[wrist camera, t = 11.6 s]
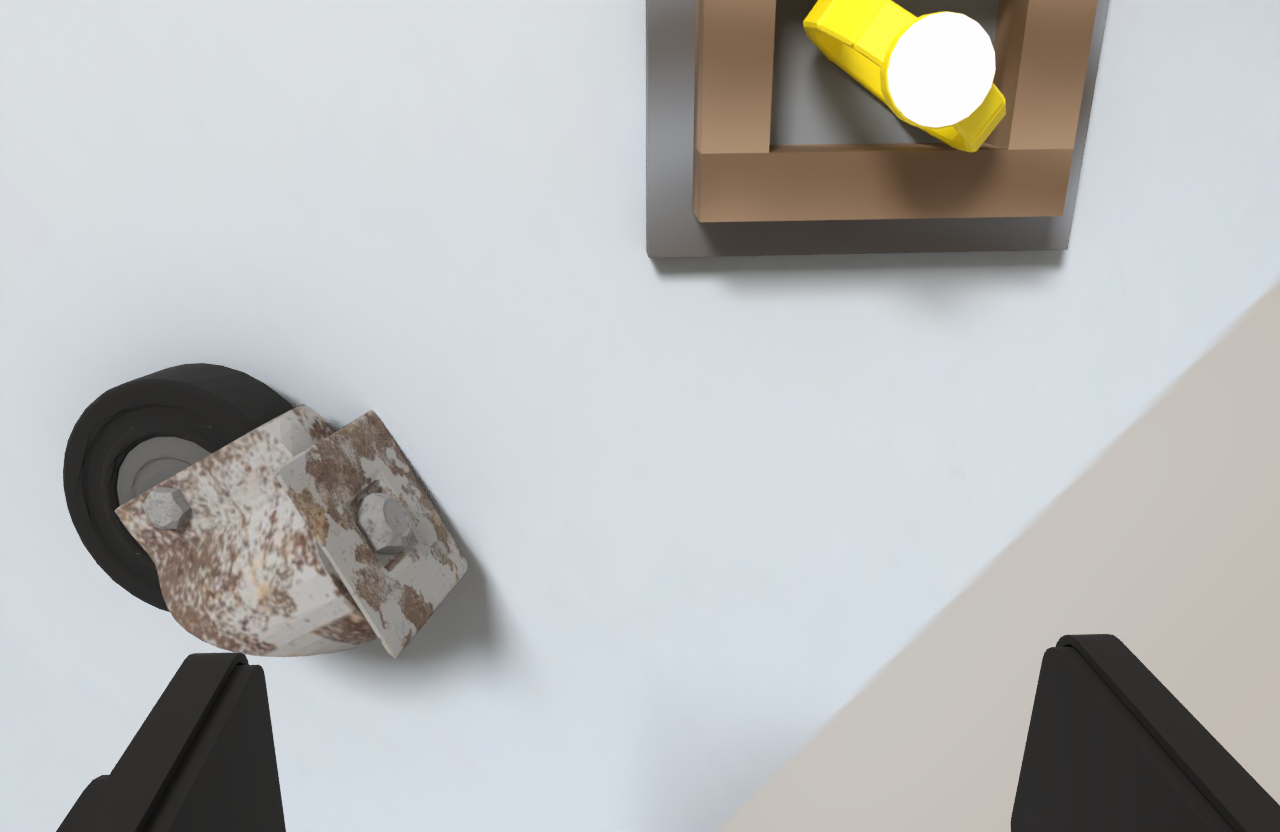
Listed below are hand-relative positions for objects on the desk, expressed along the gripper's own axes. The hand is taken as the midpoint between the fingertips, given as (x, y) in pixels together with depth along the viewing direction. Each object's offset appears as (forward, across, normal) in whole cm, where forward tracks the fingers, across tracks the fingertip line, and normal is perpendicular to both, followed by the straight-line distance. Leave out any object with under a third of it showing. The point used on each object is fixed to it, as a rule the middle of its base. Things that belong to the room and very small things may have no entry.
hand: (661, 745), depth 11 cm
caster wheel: (+23, +12, +7) cm, 27 cm away
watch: (+21, -8, -8) cm, 24 cm away
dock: (+22, -8, -8) cm, 25 cm away
